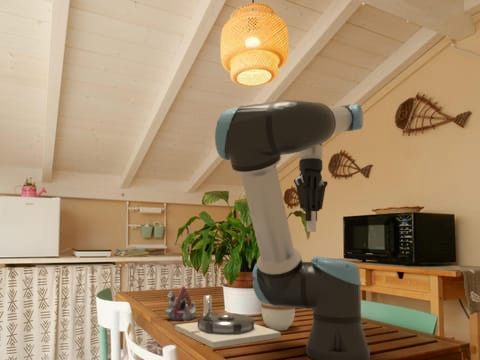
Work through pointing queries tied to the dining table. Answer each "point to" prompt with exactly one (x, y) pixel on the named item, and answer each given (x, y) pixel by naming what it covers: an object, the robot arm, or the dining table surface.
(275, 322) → the lidded jar
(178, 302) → the grey maroon spiky lump
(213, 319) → the notched disc with hub
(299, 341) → the dining table surface
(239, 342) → the base board
